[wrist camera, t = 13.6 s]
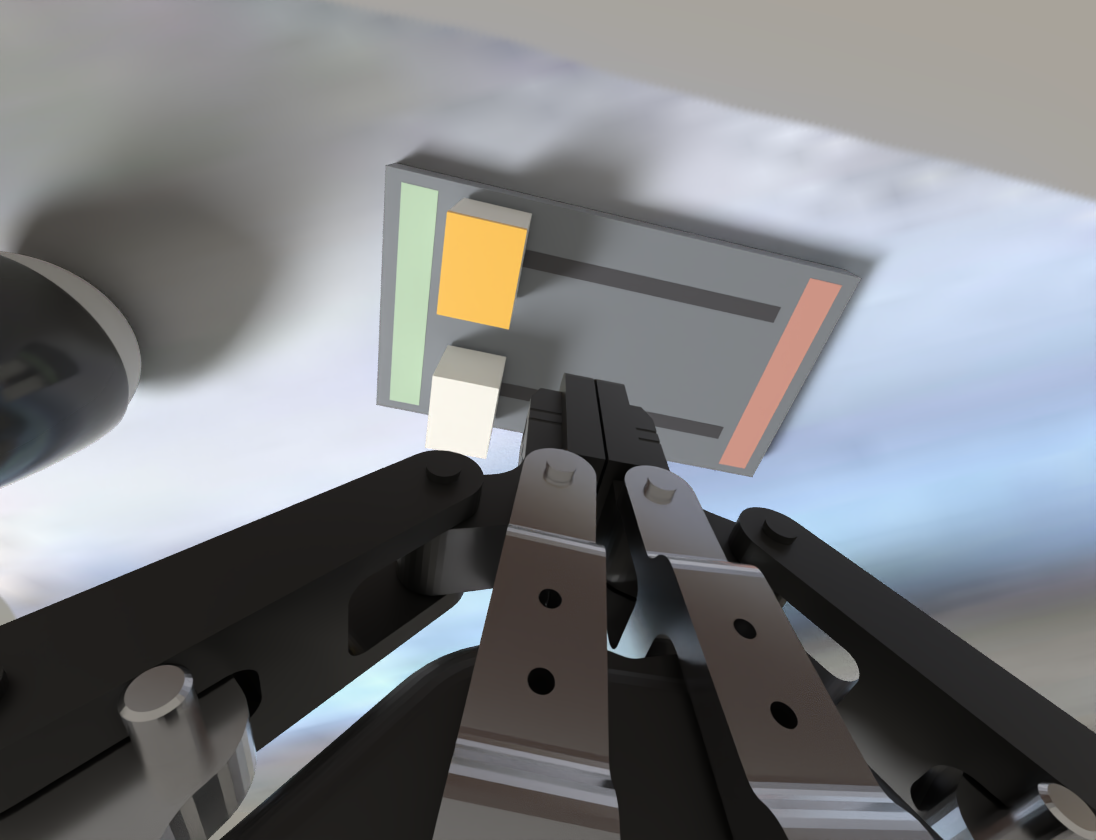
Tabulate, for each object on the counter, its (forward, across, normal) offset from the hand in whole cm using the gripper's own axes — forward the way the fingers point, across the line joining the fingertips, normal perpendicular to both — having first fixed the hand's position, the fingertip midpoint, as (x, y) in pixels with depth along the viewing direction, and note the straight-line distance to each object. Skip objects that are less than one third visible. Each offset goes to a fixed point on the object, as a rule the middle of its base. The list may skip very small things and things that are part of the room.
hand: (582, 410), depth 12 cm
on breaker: (+13, +4, +6) cm, 15 cm away
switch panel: (+14, -2, +3) cm, 15 cm away
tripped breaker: (+12, +4, -1) cm, 13 cm away
